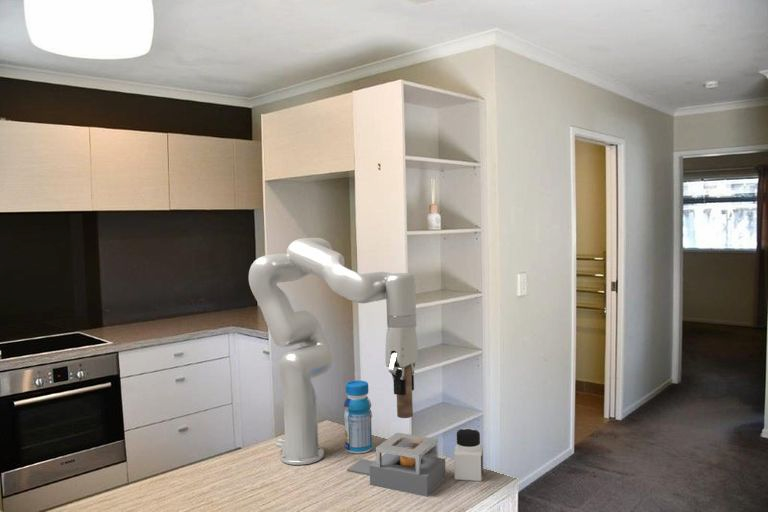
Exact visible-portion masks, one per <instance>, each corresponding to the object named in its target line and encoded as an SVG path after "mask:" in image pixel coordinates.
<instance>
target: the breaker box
mask: <svg viewBox="0 0 768 512" xmlns="http://www.w3.org/2000/svg"><path fill="white" fill-rule="evenodd" d="M374 461H375V462H374V463H372V464H371V465H370V475H369V485H370V486H375V487H379V488H385V489H390V490H394V491H398V492H399V491H400V492H404V493H407V494H413V495H417V496H422V497H423V496H424V497H429V495H431V494H432V493H433V492H434V490H436V488H437V487H438V486H439V485H441V484H442V482H443V481H444V480H445V479H446V477H447V476H446V473H447V472H446V458H443V457H438V458H437V459H434V458H428V457H421V474H420V475H417V474H416V466H414V467H413V468H411V467H406V466H401V465H400V456H399V455H394V454H388V453H383V455H382V466H381V467H376V460H374Z"/></svg>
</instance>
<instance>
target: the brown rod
mask: <svg viewBox="0 0 768 512" xmlns="http://www.w3.org/2000/svg"><path fill="white" fill-rule="evenodd" d="M396 366H397V367H400V366H399V364H396ZM397 370H398V371H399V372H400V369H397ZM404 379H406V395H396V415H397V416H396V417H397V418H400V419H408V418H412V417H413V415H414V410H413V391H412V376H411V364H410V365H408V366H406V367H405V368H404Z"/></svg>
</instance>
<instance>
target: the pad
mask: <svg viewBox="0 0 768 512" xmlns="http://www.w3.org/2000/svg"><path fill="white" fill-rule="evenodd" d="M375 461H376V460H369V459H364V458H361V459H359V460H357V462H355V463H353V464H352V465H351V466H349V467H348V468H347V469H346V472H351V473H357V474H361V475H366V476H370V465H371V464H372V463H374V462H375Z"/></svg>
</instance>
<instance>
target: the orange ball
mask: <svg viewBox="0 0 768 512" xmlns="http://www.w3.org/2000/svg"><path fill="white" fill-rule="evenodd" d="M405 448H409V449H414V448H410V447H405ZM400 465H401V466H406V467H411V468H413V467H414V466H416V463H415V458H411V457H405V456H400Z"/></svg>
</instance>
